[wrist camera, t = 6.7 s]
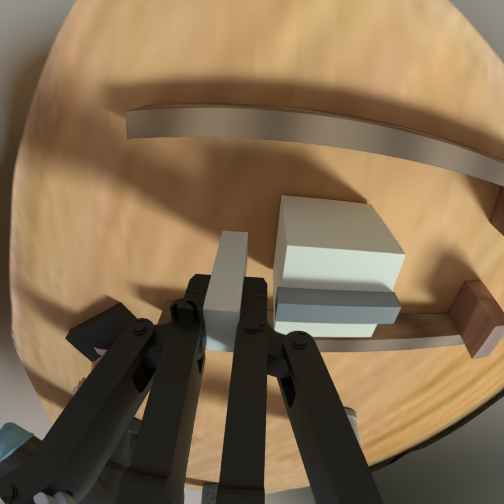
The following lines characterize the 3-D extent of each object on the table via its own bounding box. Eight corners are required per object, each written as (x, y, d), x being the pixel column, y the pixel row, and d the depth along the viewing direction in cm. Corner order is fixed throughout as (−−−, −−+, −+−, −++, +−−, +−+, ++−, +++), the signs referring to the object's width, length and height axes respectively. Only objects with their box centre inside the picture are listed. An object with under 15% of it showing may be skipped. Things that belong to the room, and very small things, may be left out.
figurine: (70, 329, 28) (26, 415, 18) (121, 301, 24) (68, 415, 14) (130, 380, 32) (104, 463, 22) (189, 364, 29) (167, 469, 19)
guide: (168, 314, 25) (149, 369, 20) (146, 105, 15) (96, 121, 10) (458, 322, 24) (480, 366, 19) (524, 169, 15) (570, 200, 10)
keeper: (270, 272, 21) (270, 351, 15) (278, 194, 18) (283, 260, 12) (353, 277, 21) (378, 351, 15) (373, 204, 18) (418, 269, 12)
